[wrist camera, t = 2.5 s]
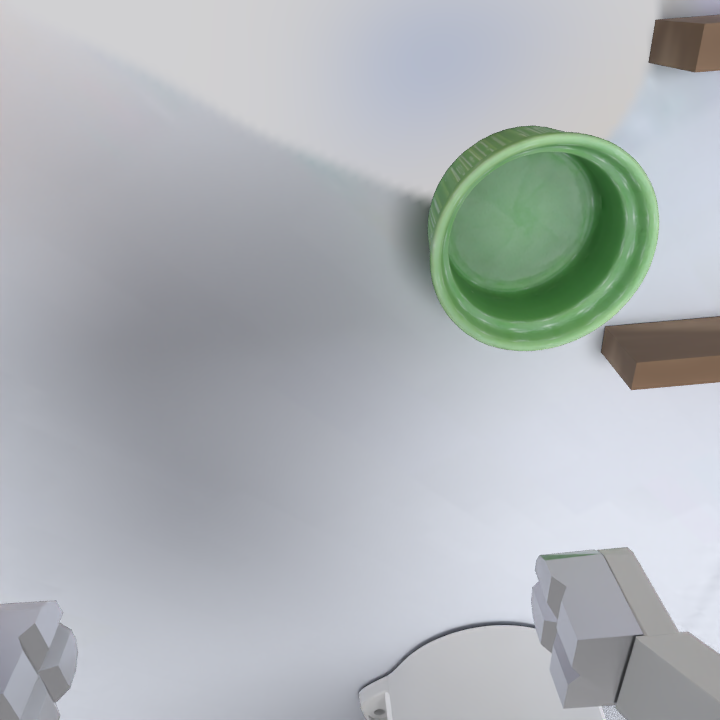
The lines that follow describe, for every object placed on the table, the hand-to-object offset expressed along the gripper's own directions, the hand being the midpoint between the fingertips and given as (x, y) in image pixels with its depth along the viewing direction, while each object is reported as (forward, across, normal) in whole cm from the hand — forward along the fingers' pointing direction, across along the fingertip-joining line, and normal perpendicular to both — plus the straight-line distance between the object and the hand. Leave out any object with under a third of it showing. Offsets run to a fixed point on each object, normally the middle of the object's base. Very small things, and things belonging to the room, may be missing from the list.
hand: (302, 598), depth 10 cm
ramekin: (+20, +9, 0) cm, 22 cm away
